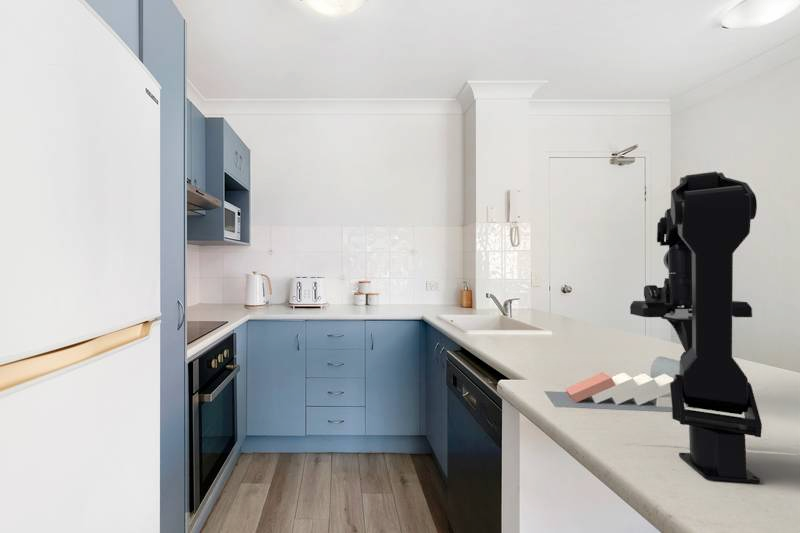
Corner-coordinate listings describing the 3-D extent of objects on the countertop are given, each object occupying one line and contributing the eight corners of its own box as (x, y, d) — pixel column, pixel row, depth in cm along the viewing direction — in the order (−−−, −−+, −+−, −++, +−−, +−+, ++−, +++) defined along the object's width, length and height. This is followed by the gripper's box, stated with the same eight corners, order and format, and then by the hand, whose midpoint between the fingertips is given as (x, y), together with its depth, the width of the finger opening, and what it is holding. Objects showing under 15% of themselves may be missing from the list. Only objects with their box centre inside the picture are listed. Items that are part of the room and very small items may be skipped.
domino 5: (657, 406, 73) (707, 408, 72) (657, 397, 73) (706, 399, 72) (646, 399, 78) (693, 401, 76) (646, 390, 78) (692, 392, 76)
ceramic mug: (691, 400, 77) (690, 364, 78) (649, 390, 84) (649, 357, 85) (711, 392, 83) (710, 359, 83) (670, 383, 90) (669, 353, 90)
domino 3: (616, 404, 75) (658, 387, 73) (612, 396, 75) (654, 379, 73) (607, 397, 79) (647, 380, 78) (603, 390, 79) (643, 373, 78)
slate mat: (679, 414, 70) (678, 412, 70) (555, 408, 74) (555, 406, 74) (652, 397, 80) (652, 395, 80) (544, 392, 84) (544, 391, 84)
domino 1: (575, 402, 76) (615, 385, 75) (570, 395, 76) (611, 377, 75) (568, 396, 80) (607, 379, 79) (564, 388, 80) (603, 371, 79)
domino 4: (638, 405, 74) (681, 387, 73) (633, 397, 74) (676, 379, 73) (628, 398, 78) (668, 381, 77) (624, 390, 78) (664, 373, 77)
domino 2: (595, 403, 75) (637, 386, 74) (591, 395, 75) (632, 378, 74) (588, 396, 80) (627, 379, 78) (584, 389, 80) (623, 372, 78)
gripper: (709, 272, 77) (712, 345, 77) (616, 274, 79) (618, 344, 79) (753, 272, 66) (756, 357, 65) (643, 274, 68) (646, 355, 68)
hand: (689, 352), depth 70 cm, fingers closed
